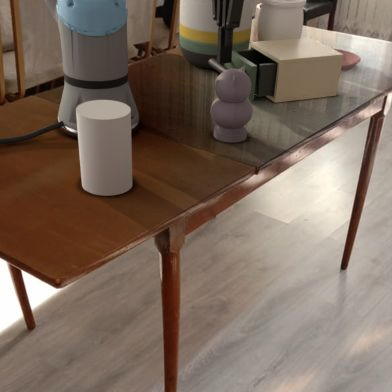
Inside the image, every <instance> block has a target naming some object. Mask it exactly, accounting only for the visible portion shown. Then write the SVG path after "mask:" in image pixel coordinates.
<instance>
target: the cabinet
mask: <svg viewBox="0 0 392 392" xmlns="http://www.w3.org/2000/svg"><path fill="white" fill-rule="evenodd" d="M249 49H256V50H257V51H259V52H261V53H262V54H264V55H266V56H267V57H269V58H270V59H272V60H274V61H275V62H277V63H278V67H277V75H276V83H275V91H274V95H267V96H265V97H266V98H267V99H269V100H270V101H272V102H274V103H277V104H278V103H284V102H293V101H300V100H301V101H302V100H309V99H310V100H311V99H318V98H326V97H328V98H329V97H336V96H337V94H338V88H339V82H340V77H341V72H342V71H341V67H342V62H343V56H344V54H342V53H340V52H338V51H336V50H334V49H335V48H332V47H330V46H328V45H326V44H324V43H322V42H320V41H319V40H316V39H315V38H313V37H311V36H310V37H300V38H296V39H283V40H270V41H257V42H252V41H250V44H249Z"/></svg>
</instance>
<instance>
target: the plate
mask: <svg viewBox="0 0 392 392" xmlns="http://www.w3.org/2000/svg"><path fill="white" fill-rule="evenodd" d="M333 49H334V50H336V51H338V52H340V53H342V54H344V56H343V62H342V67H341V72H344V71H350V70H351V69H352V68H354V67H355V66H357V65H358V64H359V63H360V62H361V61H362V58H361V57H360V55H358V54H356V53H354V52H351V51H348V50H345V49H344V50H343V49H339V48H333Z"/></svg>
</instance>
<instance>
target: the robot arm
mask: <svg viewBox="0 0 392 392" xmlns="http://www.w3.org/2000/svg"><path fill="white" fill-rule="evenodd" d="M43 1H44V3H45V4H46V7H47V8H48V10H49V11H50V13H51V15H52V17H53V19H54V20H55V22H56V24H57V28H58V32H59V37H60V38H59V39H60V47H61V59H62V69H63V79H64V80H63V81H64V86H63V90H62V94H61V99H60V104H59V108H58V113H57V121H58V122H55V123H52V124H49V125H46V126H44V127H41V128H39V129H36V130H34V131H32V132H29V133H26V134H21V135H16V136H11V137H1V138H0V145H6V144H13V143H14V144H15V143H21V142H25V141H29V140H32V139H35V138H37V137H40V136H42V135H44V134H46V133H49V132H52V131H55V130H57V129H59V130H60V132H62V133H64V134H65V135H67V136H69V137H72V138H75V139H78V130H77V118H76V108H77V106H78V105H80V104H82V103H84V102H88V101H93V100H113V101H118V102H122V103H124V104H126V105H128V106H129V107H130V109H131V135H133V134H134V133H136V132H137V131H138V130H139V128H140V115H139V111H138V107H137V104H136V102H135V99H134V96H133V92H132V90H131V86H130V83H129V53H128V52H129V49H128V47H129V44H128V16H129V9H128V5H127V0H43ZM243 3H244V0H212V11H213V20H214V21H217V22H216V24H217V26H218V44H217V62H218V63H220V64H221V63H230V62H232V44H233V29H235V28H239V26H240V21H241V15H242V9H243Z"/></svg>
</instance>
